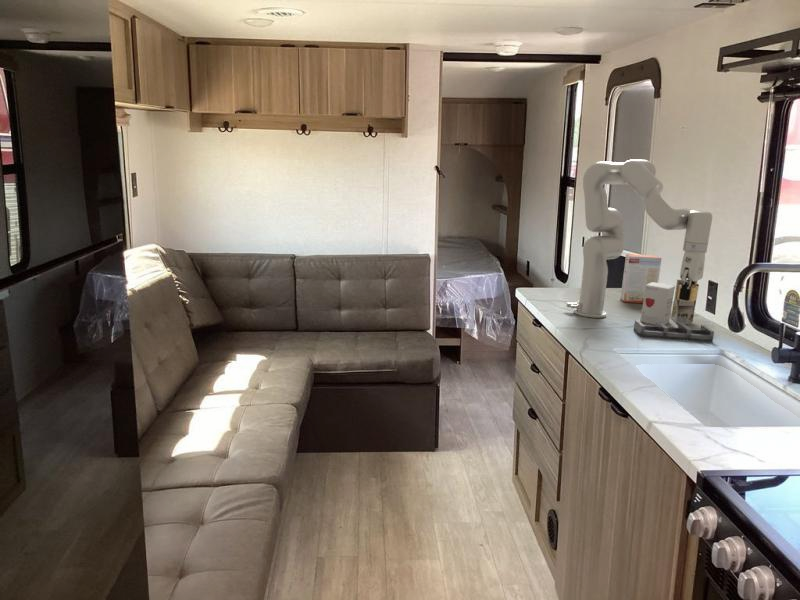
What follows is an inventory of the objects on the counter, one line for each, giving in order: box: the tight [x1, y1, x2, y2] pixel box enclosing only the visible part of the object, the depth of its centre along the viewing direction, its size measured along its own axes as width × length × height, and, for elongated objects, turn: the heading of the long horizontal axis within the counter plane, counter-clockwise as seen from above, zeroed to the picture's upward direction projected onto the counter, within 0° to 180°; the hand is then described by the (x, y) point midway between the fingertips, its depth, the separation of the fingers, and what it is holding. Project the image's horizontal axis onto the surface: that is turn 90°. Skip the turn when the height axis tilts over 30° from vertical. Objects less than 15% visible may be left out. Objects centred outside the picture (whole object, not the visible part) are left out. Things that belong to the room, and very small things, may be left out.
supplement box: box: [639, 282, 676, 326], centre depth 251 cm, size 9×9×15 cm
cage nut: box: [677, 284, 700, 302], centre depth 225 cm, size 5×5×6 cm
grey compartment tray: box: [633, 319, 715, 343], centre depth 233 cm, size 25×9×4 cm, turn 85°
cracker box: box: [620, 254, 662, 304], centre depth 285 cm, size 14×6×21 cm, turn 88°
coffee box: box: [670, 279, 700, 326], centre depth 255 cm, size 9×6×16 cm
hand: (686, 298), depth 225 cm, fingers closed on cage nut, 5 cm apart
